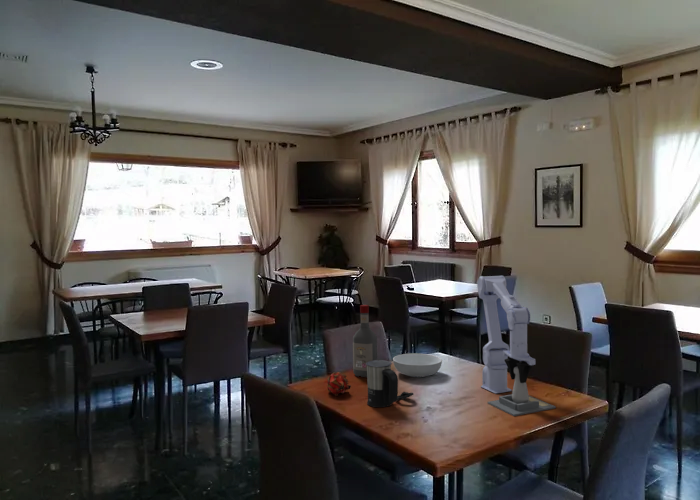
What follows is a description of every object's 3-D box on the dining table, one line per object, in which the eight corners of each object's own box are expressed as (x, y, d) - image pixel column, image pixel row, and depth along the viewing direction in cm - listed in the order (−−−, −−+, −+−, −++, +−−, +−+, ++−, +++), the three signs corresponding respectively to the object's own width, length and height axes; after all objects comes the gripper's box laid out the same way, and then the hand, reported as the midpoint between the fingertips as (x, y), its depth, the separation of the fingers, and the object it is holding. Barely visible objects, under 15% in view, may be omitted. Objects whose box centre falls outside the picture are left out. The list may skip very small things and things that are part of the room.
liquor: (371, 378, 221) (369, 307, 220) (351, 375, 225) (350, 306, 224) (379, 372, 229) (378, 304, 228) (360, 370, 233) (359, 303, 232)
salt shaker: (529, 407, 180) (529, 369, 180) (512, 406, 182) (511, 368, 181) (528, 401, 186) (528, 365, 185) (511, 400, 187) (511, 364, 187)
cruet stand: (487, 403, 187) (487, 396, 187) (527, 396, 194) (527, 389, 194) (513, 416, 174) (513, 408, 174) (555, 408, 181) (555, 400, 181)
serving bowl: (446, 381, 215) (445, 364, 215) (394, 382, 215) (394, 365, 215) (438, 367, 236) (437, 352, 235) (391, 368, 236) (391, 353, 236)
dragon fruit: (335, 391, 209) (343, 405, 197) (318, 381, 206) (325, 395, 195) (348, 374, 209) (356, 387, 198) (331, 364, 206) (339, 376, 195)
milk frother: (361, 404, 189) (360, 363, 188) (386, 393, 201) (385, 354, 200) (394, 412, 180) (394, 369, 179) (418, 400, 192) (417, 360, 192)
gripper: (542, 345, 178) (542, 384, 178) (513, 337, 191) (513, 374, 192) (525, 347, 175) (526, 387, 176) (498, 339, 188) (498, 376, 189)
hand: (518, 380), depth 183 cm, fingers closed on salt shaker, 4 cm apart
